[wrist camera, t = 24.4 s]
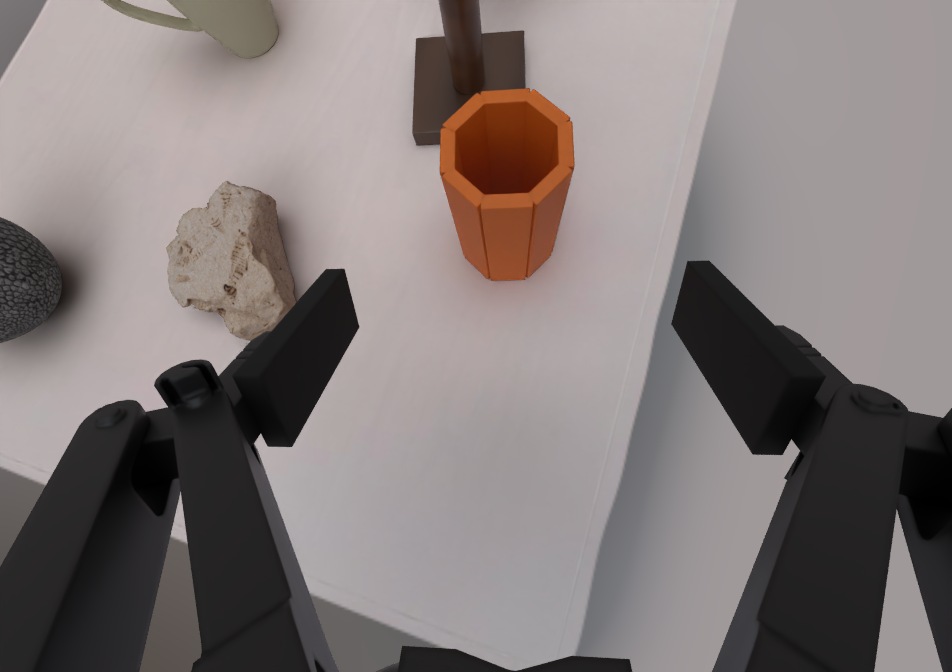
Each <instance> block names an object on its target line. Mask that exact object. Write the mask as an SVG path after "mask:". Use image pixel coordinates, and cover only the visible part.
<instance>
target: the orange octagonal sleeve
mask: <svg viewBox="0 0 952 672" xmlns="http://www.w3.org/2000/svg"><path fill="white" fill-rule="evenodd" d="M573 170H574V146H573V125H572V122H571V121H570V117H569V116H568V115H567V114H565V113H564V112H563V111H561V110H560V109H559V108H557V107H556V106H555V105H554V104H552V103H551V102H550V101H548V100H547V99H546V98H545V97H543V96H542V95H541V94H539V93H538V92H537V91H536V90H534V89H533V90H532V91H531V92H530V89H529V88H526V89H510V90H494V91H482V92H481V95H479V94H478V93H476V94H475V95H474V96H473V97H472V98H471V99H470V100H468V101H467V102H466V103H465V104H464V105H463V106H462V107H461V108H460V109H459V110H458V111H457V112H456V113H455V114H453V115H452V116H451V117H450V118H449V119H448V120H447V121H446V122H445V123H444V124H443V128H442V129H441V138H440V175H441V178H442V182H443V185H444V188H445V192H446V195H447V199H448V202H449V206H450V209H451V212H452V216H453V219H454V223H455V226H456V230H457V233H458V237H459V240H460V243H461V247H462V250H463V254H464V255H465V258H466V259H467V260H468V261H469V262H470V263H471V264H472V265H473V266H474V267H475V268H477V269H478V270H479V271H480V272H481V273H482V274H483V275H484V276H485V277H486V278H487V279H489V278H491V280H525V277H526V278H529V277H530V276H531V275H532V274H533V273H534V272H535V271H536V270H537V269H538V268H539V267H540V266H541V265H542V264H543V263H544V262H545V261H546V260H547V259H548V258H549V257H550V256H551V253H552V251H553V247H554V243H555V239H556V235H557V231H558V228H559V224H560V220H561V216H562V212H563V208H564V204H565V201H566V197H567V193H568V189H569V185H570V181H571V177H572V173H573Z"/></svg>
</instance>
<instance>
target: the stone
mask: <svg viewBox="0 0 952 672" xmlns="http://www.w3.org/2000/svg"><path fill="white" fill-rule="evenodd" d="M207 205H208V208H207V207H206V208H204V209H202V208H194V209H191V210H189V211H188V212H187V213H185V214H184V215H183V216H182V218H181V219H180V220H179V225H178V228H177V230H176V231H177V233H178V234H179V235H178V236H177V237H176V238H175V239H174V240H173V241H172V242H170V244H169V246H167V247H166V249H167V253H168V255H169V264H168V281H169V288H170V290H171V293H172V295H173V296H174V298H175V299H177V301H178V303H179V304H180V305H181V306H182V307H187V306H190V305H191V304H192V305H194V306H195V308H197V309H199V310H204V311H207V312H212V311H218V314H220V315H221V316H223V317H224V318H225V322H226V326H227V328H228V329H229V331H230V333H232V334H234V335H235V336H237V337H239V338H243V339H247V340H250V341H252V340H253V339H254V338H256V337H257V336H259V335H261V334H262V333H264V332H265V331H272V330H273V329H274V328H275V327H276V325H277V324H278V323H279V322H280V321H281V320H282V319H283V317H284V316H285V315H286V314H287V313H288V312H289V311H290V309H291V308H292V307H293V306H294V305H295V304H296V301H295V297H294V294H293V290H294V282H293V278H292V274H291V272H290V269H289V266H288V263H287V259H286V256H285V251H284V249H283V242H282V238H281V236H280V235H279V230H278V225H277V220H278V216H277V211H276V201H275V200H274V199H273V198H272V197H271V196H269V195H266V194H263V193H262V192H261V191H258V190H255V189H253V188H249V187H245V186H241V187H239V186H237V185H235V184H231V183H230V182H228V181H225V182H224V183H222V185H221V186H220V187H219V188H218V189H217V190H216V191H215V192H214V193H213V195H212V196H211V198H210V200H209V203H207Z"/></svg>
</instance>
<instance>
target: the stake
mask: <svg viewBox="0 0 952 672" xmlns="http://www.w3.org/2000/svg"><path fill="white" fill-rule="evenodd" d="M439 5H440V11H441V17H442V23H443V28H444V34H445V36H443V37H429V38H417V39H416V54H415V80H414V106H413V132H412V133H413V136H414V139H415V142H416V145H431V144H440V138H441V129H442V128H443V124H444V123H445V122H446V121H447V120H448V119H449V118H450V117H451V116H452V115H453V114H455V113H456V112H457V111H458V110H459V109H460V108H461V107H462V106H463V105H464V104H465V103H466V102H467V101H468V100H470V99H471V98H472V97H473V96H474V95H475V94H476V93H478V94H479V95H481V92H482V91H494V90H510V89H525V55H524V31H511V32H497V33H484V34H482V33H481V20H480V7H479V0H439Z"/></svg>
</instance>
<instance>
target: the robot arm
mask: <svg viewBox="0 0 952 672" xmlns="http://www.w3.org/2000/svg"><path fill="white" fill-rule="evenodd" d="M672 326H673V327H674V329H675V331H676V332H677V334H678V335H679V337H680V339H681V340H682V342H683V343H684V345H685V347H686V348H687V350H688V351H689V353H690V355H691V356H692V358H693V360H694V361H695V363H696V364H697V366H698V368H699V369H700V371H701V372H702V374H703V376H704V377H705V379H706V380H707V382H708V384H709V385H710V387H711V388H712V390H713V392H714V393H715V395H716V396H717V398H718V400H719V401H720V403H721V404H722V406H723V407H724V409H725V411H726V412H727V414H728V416H729V417H730V419H731V420H732V422H733V424H734V425H735V427H736V428H737V430H738V432H739V433H740V435H741V437H742V438H743V440H744V441H745V443H746V444H747V446H748V447H749V449H750V451H751V453H752V454H756V455H760V454H761V455H783V453H784V451H785V449H786V448H787V446H788V444H789V442H790V441H791V439H792V440H793V441H794V443H795V444H796V446H797V447H798V448H799V450H800V452H799V454H798V456H797V457H796V459H795V461H794V463H793V464H792V466H791V468H790V470H789V471H788V473H787V474H786V476H785V479H787V482H786V484H785V487H784V489H783V492H782V494H781V497H780V500H779V502H778V505H777V507H776V510H775V512H774V515H773V517H772V520H771V523H770V525H769V528H768V531H767V533H766V535H765V538H764V540H763V543H762V546H761V548H760V551H759V553H758V556H757V558H756V561H755V563H754V566H753V569H752V572H751V574H750V576H749V579H748V581H747V584H746V587H745V589H744V592H743V594H742V597H741V599H740V602H739V604H738V607H737V609H736V612H735V615H734V617H733V620H732V622H731V625H730V627H729V630H728V632H727V635H726V638H725V640H724V643H723V645H722V648H721V650H720V653H719V655H718V658H717V661H716V663H715V666H714V668H713V671H712V672H874V668H875V661H876V654H877V646H878V639H879V632H880V625H881V618H882V610H883V603H884V596H885V588H886V581H887V574H888V567H889V560H890V552H891V544H892V538H893V531H894V523H895V515H896V509H897V511H898V514H899V518H900V521H901V525H902V529H903V532H904V536H905V539H906V543H907V546H908V550H909V553H910V557H911V560H912V564H913V567H914V571H915V574H916V578H917V581H918V585H919V588H920V592H921V596H922V599H923V602H924V606H925V610H926V613H927V617H928V620H929V624H930V627H931V631H932V634H933V638H934V641H935V645H936V648H937V652H938V655H939V659H940V663H941V666H942V670H943V672H952V408H951V410H950V411H949V412H948V413H947V414H946V416H945V417H944V418H941V417H935V416H930V415H925V414H920V413H914V412H910V411H908V409H907V407H906V406H905V405H904V404H903V403H902V402H901V401H900V400H898V399H896V398H895V397H893V396H892V395H890V394H889V393H886V392H884V391H881V390H879V389H877V388H874V387H870V386H866V385H861V384H853V383H852V382H851V381H849V380H848V379H847V378H846V377H845V376H844V375H843V374H842V373H841V372H840V371H839V370H838V369H836V367H834V366H833V365H832V364H831V363H830V362H829V361H828V360H827V359H826V358H825V357H823V356H821V353H819V352H818V351H817V350H816V349H815V348H812V345H811V344H810V343H809V342H808V341H807V340H806V339H804V338H803V337H802V336H801V335H800V334H798V333H796V332H794V331H792V330H791V329H789V328H787V327H785V326H775V325H774V324H773V323H772V322H771V321H770V320H769V319H768V318H766V316H764V314H763V313H762V312H760V311H759V310H758V309H757V308H756V307H755V306H754V305H753V304H752V303H751V302H750V301H749V300H748V299H747V298H746V297H745V296H744V295H743V294H742V293H741V292H740V291H739V290H738V289H737V288H736V287H735V286H734V285H733V284H732V283H731V282H730V281H729V280H728V279H727V278H726V277H725V276H724V275H723V274H722V273H721V272H720V271H719V270H718V269H717V268H716V267H715V266H714V265H713V264H712V263H711V262H710V261H688V262H687V265H686V269H685V273H684V277H683V281H682V285H681V289H680V292H679V296H678V300H677V304H676V308H675V312H674V316H673V320H672ZM358 329H359V324H358V320H357V316H356V312H355V308H354V304H353V300H352V296H351V293H350V289H349V285H348V281H347V277H346V273H345V269H326V270H325V271H324V272H323V273H322V274H321V275H320V277H319V278H318V279H317V280H316V281H315V282H314V283H313V284H312V286H311V287H310V288H309V289H308V290H307V291H306V292H305V294H304V295H303V296H302V297H301V298H300V299H299V300H298V302H297V303H296V304H295V305H294V306H293V307H292V308H291V309H290V311H289V312H288V313H287V314H286V315H285V316H284V317H283V319H282V320H281V321H280V322H279V323H278V324H277V325H276V327H275V328H274V329H273V330H272V331H265V332H264V333H262V334H261V335H259V336H257V337H256V338H254V339H253V340H252V341H251V342H250V343H249V344H248V345H247V346H246V347H245V348H244V349H243V351H241V352H240V354H239V355H238V356H237V357H236V359H234V360H233V361H232V362H231V363H230V364H229V366H228V367H227V368H226V369H225V370H224V371H223V372H222V373H221V374H220V375H219V376H218V375H217V373H216V371H215V369H214V368H213V366H212V364H211V363H210V362H209V361H206V360H191V361H187V362H184V363H180V364H178V365H176V366H174V367H171V368H170V369H168V370H167V371H165V372H164V373H162V374H161V375H160V376H159V377H158V378H157V379H156V382H155V385H154V386H155V388H156V389H157V391H158V392H159V394H160V395H161V397H162V398H163V400H164V401H165V403H166V404H167V406H168V408H163V409H158V410H153V411H149V412H145V410H144V409H143V408H142V406H141V405H140V404H139V403H138V402H137V401H134V400H124V401H118V402H115V403H112V404H108V405H105V406H103V407H102V408H99V409H98V410H96V411H95V412H93V413H92V414H91V415H89V416H88V417H87V418H86V419H85V420H84V421H83V422H82V423H81V425H80V426H79V428H78V430H77V431H76V433H75V435H74V437H73V438H72V440H71V442H70V444H69V446H68V447H67V449H66V451H65V453H64V454H63V456H62V458H61V460H60V462H59V463H58V465H57V467H56V469H55V470H54V472H53V474H52V476H51V478H50V479H49V481H48V483H47V485H46V486H45V488H44V490H43V492H42V494H41V496H40V497H39V499H38V501H37V502H36V504H35V506H34V508H33V510H32V511H31V513H30V515H29V517H28V518H27V520H26V522H25V524H24V526H23V527H22V529H21V531H20V533H19V534H18V536H17V538H16V540H15V542H14V543H13V545H12V547H11V549H10V550H9V552H8V554H7V556H6V558H5V559H4V561H3V563H2V565H1V567H0V672H139V670H140V666H141V661H142V657H143V653H144V648H145V644H146V639H147V635H148V631H149V626H150V621H151V618H152V613H153V609H154V605H155V600H156V596H157V591H158V587H159V583H160V578H161V574H162V569H163V565H164V561H165V557H166V552H167V548H168V543H169V539H170V535H171V530H172V526H173V522H174V517H175V513H176V509H177V504H178V500H179V496H180V491H181V496H182V504H183V511H184V519H185V526H186V533H187V541H188V548H189V556H190V562H191V570H192V578H193V585H194V592H195V600H196V607H197V615H198V622H199V630H200V637H201V645H202V654H201V658H199V659H198V660H197V661H195V662H194V663H193V667H192V671H191V672H339V670H338V668H337V666H336V664H335V661H334V659H333V657H332V654H331V652H330V649H329V647H328V643H327V641H326V638H325V635H324V633H323V630H322V627H321V624H320V621H319V619H318V616H317V613H316V610H315V608H314V605H313V602H312V599H311V596H310V594H309V591H308V588H307V585H306V583H305V580H304V577H303V574H302V572H301V569H300V566H299V563H298V561H297V558H296V555H295V552H294V549H293V547H292V544H291V541H290V538H289V536H288V533H287V530H286V527H285V525H284V522H283V519H282V516H281V514H280V511H279V508H278V505H277V502H276V500H275V497H274V494H273V491H272V489H271V486H270V483H269V480H268V478H267V475H266V472H265V469H264V466H263V464H262V461H261V458H260V455H259V453H258V450H257V448H256V446H255V445H254V442H255V441H256V439H257V438H258V436H259V435H260V433H261V434H262V436H263V438H264V440H265V442H266V444H267V446H268V447H292V446H293V444H294V443H295V441H296V439H297V437H298V435H299V434H300V432H301V430H302V428H303V426H304V425H305V423H306V421H307V419H308V418H309V416H310V414H311V412H312V410H313V409H314V407H315V405H316V403H317V402H318V400H319V398H320V396H321V394H322V393H323V391H324V389H325V387H326V386H327V384H328V382H329V380H330V378H331V377H332V375H333V373H334V371H335V369H336V368H337V366H338V364H339V362H340V361H341V359H342V357H343V355H344V353H345V352H346V350H347V348H348V346H349V345H350V343H351V341H352V339H353V337H354V336H355V334H356V332H357V330H358ZM377 672H632V669H631V664H630V660H629V659H615V658H598V657H581V656H570V657H566V658H563V659H559V660H555V661H551V662H548V663H544V664H540V665H537V666H533V667H529V668H526V669H522V670H518V671H511V670H508V669H505V668H502V667H500V666H497V665H495V664H492V663H490V662H487V661H485V660H482V659H480V658H477V657H475V656H472V655H469V654H467V653H464V652H462V651H459V650H457V649H444V648H427V647H409V646H402V650H401V656H400V662H399V663H396V664H392V665H390V666H387V667H385V668H383V669H381V670H379V671H377Z"/></svg>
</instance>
